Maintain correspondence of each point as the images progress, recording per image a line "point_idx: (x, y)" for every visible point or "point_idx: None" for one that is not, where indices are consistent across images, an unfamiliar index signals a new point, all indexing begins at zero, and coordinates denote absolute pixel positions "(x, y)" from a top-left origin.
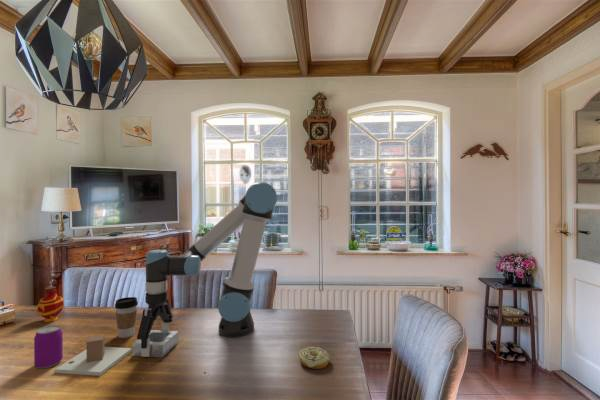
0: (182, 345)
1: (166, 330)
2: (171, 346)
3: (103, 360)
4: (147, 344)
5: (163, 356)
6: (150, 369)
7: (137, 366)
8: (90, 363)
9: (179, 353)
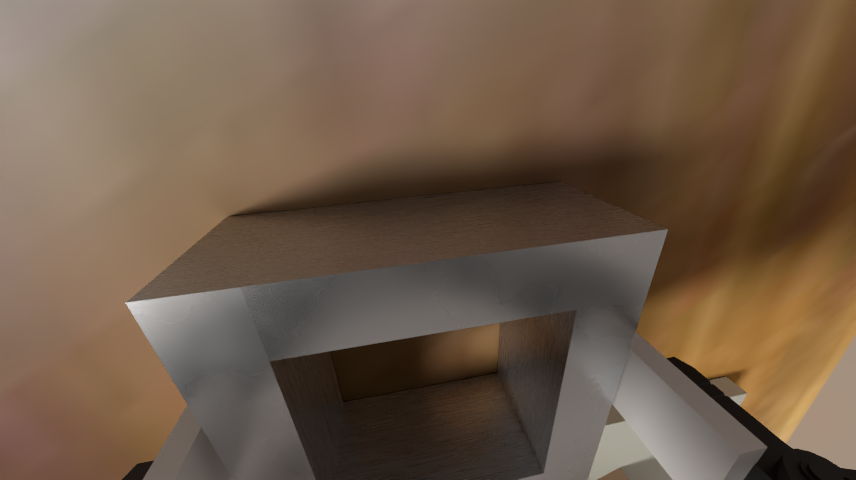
0: (271, 120)
1: (202, 461)
2: (396, 209)
3: (627, 459)
4: (681, 382)
5: (551, 183)
6: (741, 161)
7: (673, 278)
8: (648, 477)
9: (473, 38)
